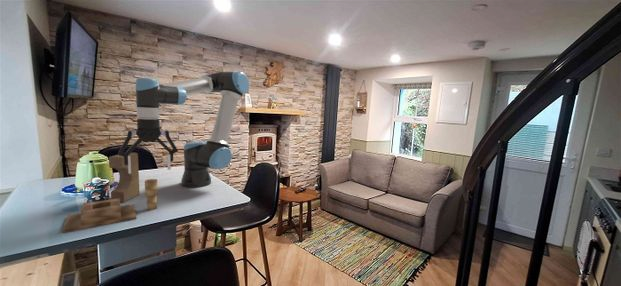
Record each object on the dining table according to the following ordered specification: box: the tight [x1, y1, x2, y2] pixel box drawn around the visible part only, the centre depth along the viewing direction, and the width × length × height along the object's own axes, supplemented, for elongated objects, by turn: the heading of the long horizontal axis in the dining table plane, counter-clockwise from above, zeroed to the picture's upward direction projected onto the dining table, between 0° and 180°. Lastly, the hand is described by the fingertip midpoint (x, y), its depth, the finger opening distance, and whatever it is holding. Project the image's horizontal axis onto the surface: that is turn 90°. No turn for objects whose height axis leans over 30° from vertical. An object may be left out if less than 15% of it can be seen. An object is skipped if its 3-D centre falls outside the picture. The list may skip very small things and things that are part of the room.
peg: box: [144, 178, 159, 211], centre depth 105 cm, size 4×4×12 cm
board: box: [62, 198, 137, 234], centre depth 95 cm, size 20×14×5 cm
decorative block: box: [108, 152, 140, 204], centre depth 115 cm, size 11×6×20 cm, turn 179°
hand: (150, 171), depth 104 cm, fingers open, 13 cm apart
